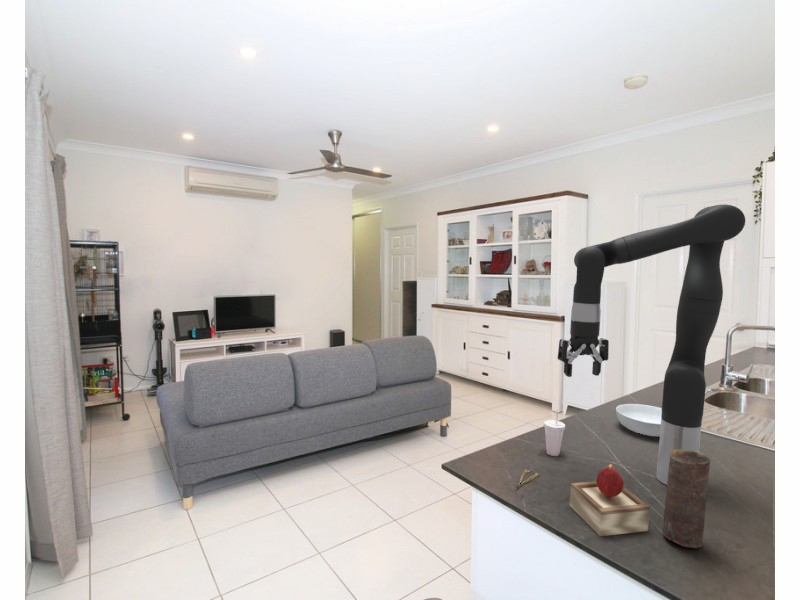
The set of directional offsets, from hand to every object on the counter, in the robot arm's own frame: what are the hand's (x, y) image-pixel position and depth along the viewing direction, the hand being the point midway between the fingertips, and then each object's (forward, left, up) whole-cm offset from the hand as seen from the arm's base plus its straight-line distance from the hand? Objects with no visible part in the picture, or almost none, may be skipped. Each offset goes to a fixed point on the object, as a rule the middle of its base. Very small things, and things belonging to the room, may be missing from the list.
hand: (581, 375), depth 122 cm
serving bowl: (-42, -22, -28) cm, 55 cm away
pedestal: (+6, +22, -28) cm, 36 cm away
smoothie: (+1, -11, -28) cm, 30 cm away
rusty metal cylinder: (-5, +32, -28) cm, 43 cm away
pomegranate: (+6, +22, -23) cm, 33 cm away
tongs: (+17, +4, -29) cm, 34 cm away
